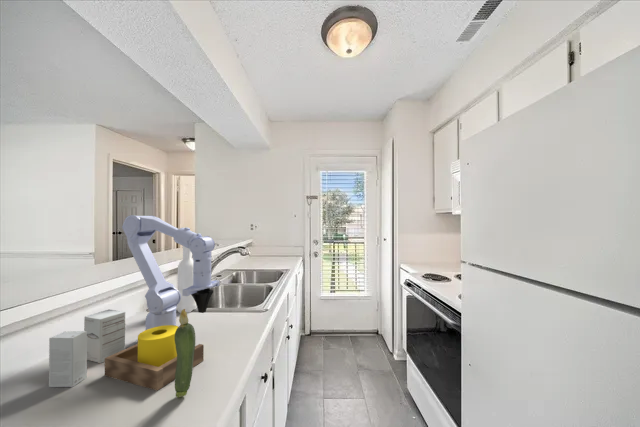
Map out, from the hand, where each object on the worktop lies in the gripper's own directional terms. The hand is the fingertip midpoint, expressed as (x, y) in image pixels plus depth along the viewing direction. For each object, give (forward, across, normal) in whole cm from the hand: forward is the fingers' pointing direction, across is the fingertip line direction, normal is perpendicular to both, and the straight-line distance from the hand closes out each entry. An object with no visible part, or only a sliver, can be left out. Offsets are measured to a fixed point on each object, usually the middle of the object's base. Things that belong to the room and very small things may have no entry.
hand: (202, 311), depth 92 cm
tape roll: (+9, -18, -2) cm, 20 cm away
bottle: (+10, +21, +30) cm, 37 cm away
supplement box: (+10, -19, +19) cm, 28 cm away
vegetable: (+9, -24, -19) cm, 32 cm away
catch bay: (+9, -18, -2) cm, 20 cm away
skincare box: (+10, -31, +13) cm, 35 cm away
